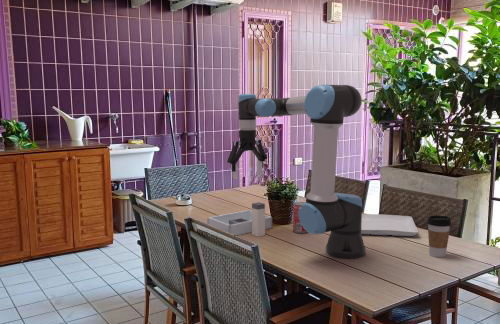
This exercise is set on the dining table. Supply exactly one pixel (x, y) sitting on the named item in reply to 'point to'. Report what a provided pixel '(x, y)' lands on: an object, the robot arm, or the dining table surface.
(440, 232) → the coffee cup
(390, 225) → the square plate
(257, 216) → the pepper shaker
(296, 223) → the soda can
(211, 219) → the box
